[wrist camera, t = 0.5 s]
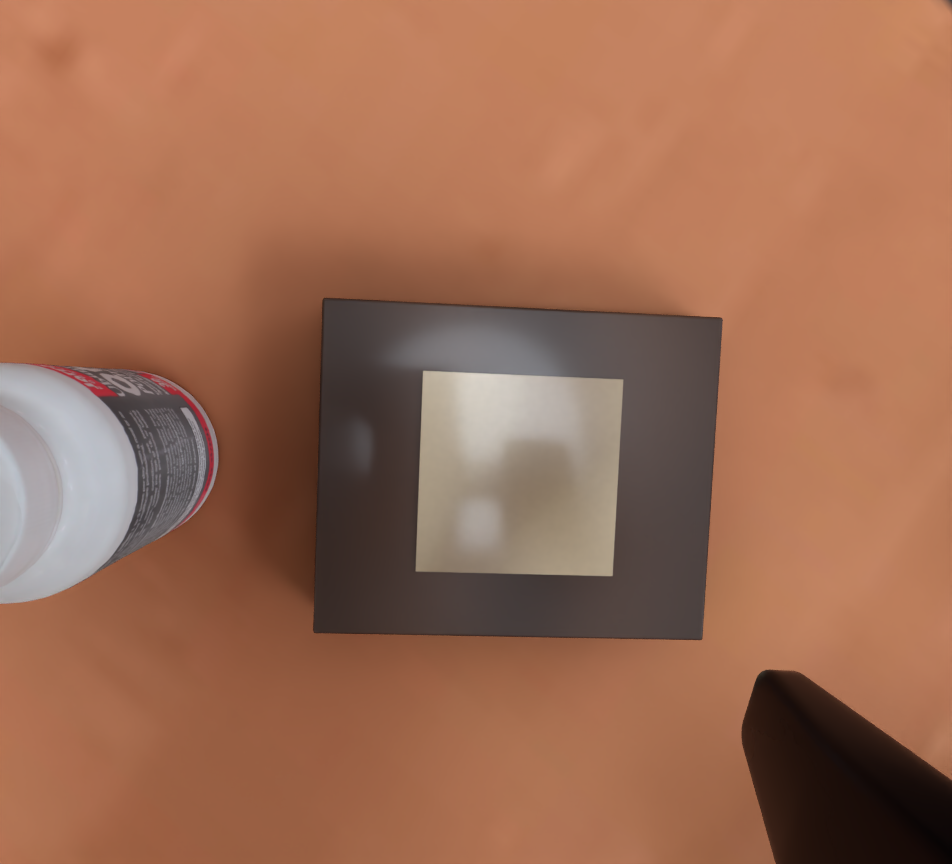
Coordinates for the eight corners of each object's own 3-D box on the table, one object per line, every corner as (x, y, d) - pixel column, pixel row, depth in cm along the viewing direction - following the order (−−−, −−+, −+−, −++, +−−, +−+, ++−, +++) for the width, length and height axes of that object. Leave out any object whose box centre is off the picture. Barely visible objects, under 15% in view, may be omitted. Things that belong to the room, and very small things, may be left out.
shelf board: (322, 612, 23) (312, 635, 21) (331, 304, 23) (321, 296, 20) (680, 619, 24) (704, 642, 22) (698, 323, 23) (725, 317, 21)
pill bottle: (197, 351, 22) (18, 325, 13) (241, 515, 23) (101, 611, 13) (26, 391, 22) (-292, 396, 12) (74, 555, 23) (-197, 685, 13)
